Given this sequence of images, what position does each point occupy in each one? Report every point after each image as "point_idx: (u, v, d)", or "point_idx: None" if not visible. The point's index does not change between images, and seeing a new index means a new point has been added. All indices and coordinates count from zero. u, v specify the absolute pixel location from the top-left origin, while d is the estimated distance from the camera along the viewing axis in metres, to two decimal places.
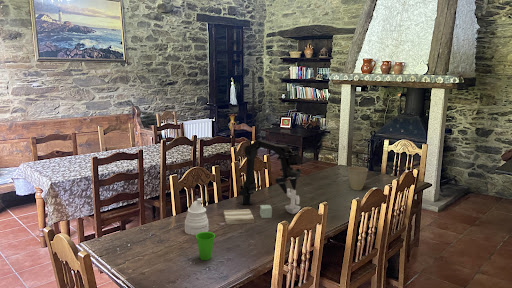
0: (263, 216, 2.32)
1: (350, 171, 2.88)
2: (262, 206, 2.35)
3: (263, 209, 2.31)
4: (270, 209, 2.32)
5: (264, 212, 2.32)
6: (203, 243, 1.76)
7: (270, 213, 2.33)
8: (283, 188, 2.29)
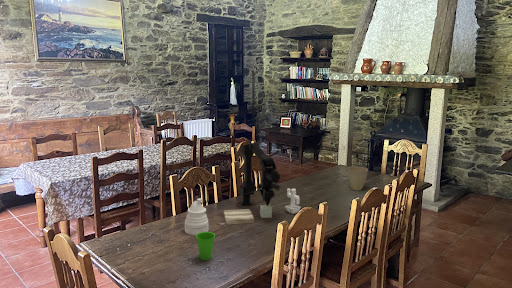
0: (263, 216, 2.32)
1: (350, 171, 2.88)
2: (262, 206, 2.35)
3: (263, 209, 2.31)
4: (270, 209, 2.32)
5: (264, 212, 2.32)
6: (203, 243, 1.76)
7: (270, 213, 2.33)
8: (267, 201, 2.28)
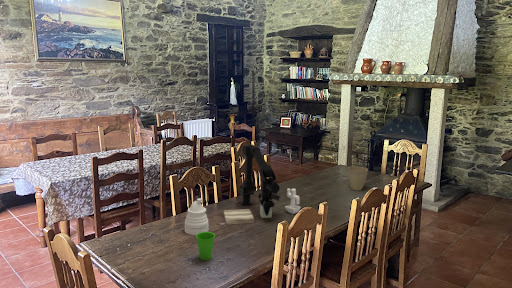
0: (263, 216, 2.32)
1: (350, 171, 2.88)
2: (262, 205, 2.35)
3: (263, 209, 2.31)
4: (270, 209, 2.32)
5: (264, 212, 2.32)
6: (203, 243, 1.76)
7: (270, 213, 2.32)
8: (266, 210, 2.30)
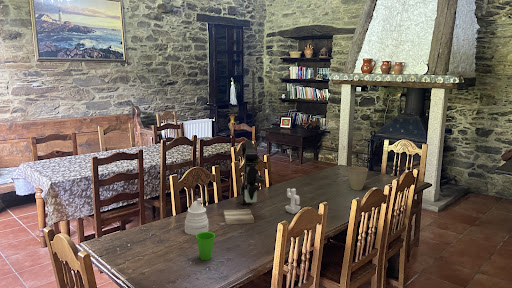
0: (248, 200, 2.27)
1: (350, 171, 2.88)
2: None
3: None
4: (255, 193, 2.27)
5: None
6: (203, 243, 1.76)
7: (255, 197, 2.28)
8: (251, 195, 2.25)
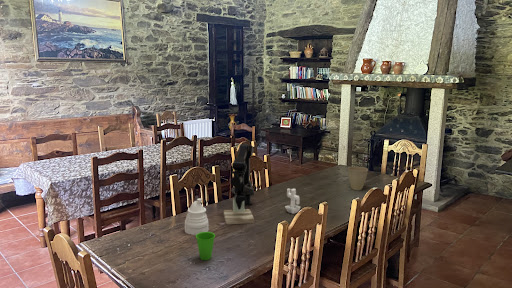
0: (235, 210, 2.26)
1: (350, 171, 2.88)
2: None
3: (235, 203, 2.25)
4: (243, 203, 2.26)
5: (236, 206, 2.26)
6: (203, 243, 1.76)
7: (243, 207, 2.27)
8: (239, 204, 2.24)
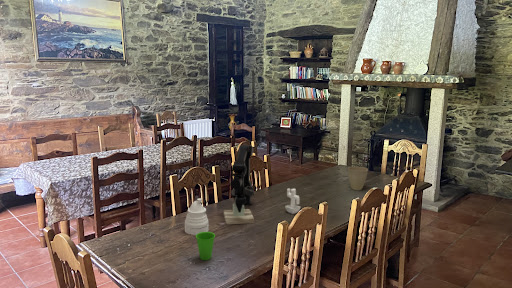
0: (235, 214, 2.27)
1: (350, 171, 2.88)
2: (235, 204, 2.30)
3: (235, 207, 2.26)
4: (242, 207, 2.27)
5: (236, 210, 2.26)
6: (203, 243, 1.76)
7: (243, 211, 2.27)
8: (239, 207, 2.23)
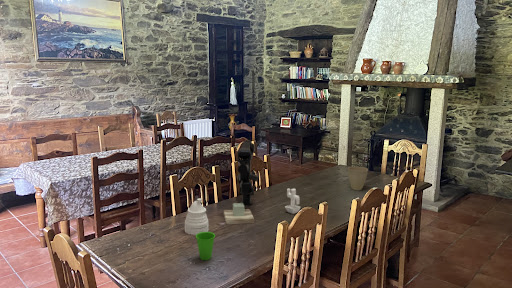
0: (235, 214, 2.27)
1: (350, 171, 2.88)
2: (235, 204, 2.30)
3: (235, 207, 2.26)
4: (242, 207, 2.27)
5: (236, 210, 2.26)
6: (203, 243, 1.76)
7: (243, 211, 2.27)
8: (244, 192, 2.32)
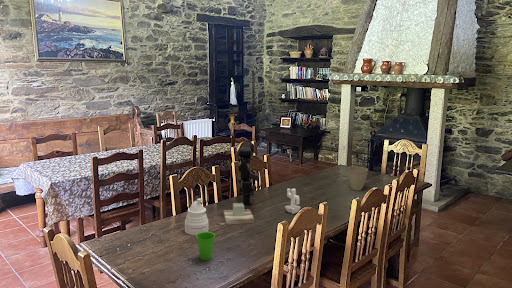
0: (235, 214, 2.27)
1: (350, 171, 2.88)
2: (235, 204, 2.30)
3: (235, 207, 2.26)
4: (242, 207, 2.27)
5: (236, 210, 2.26)
6: (203, 243, 1.76)
7: (243, 211, 2.27)
8: (245, 191, 2.33)
